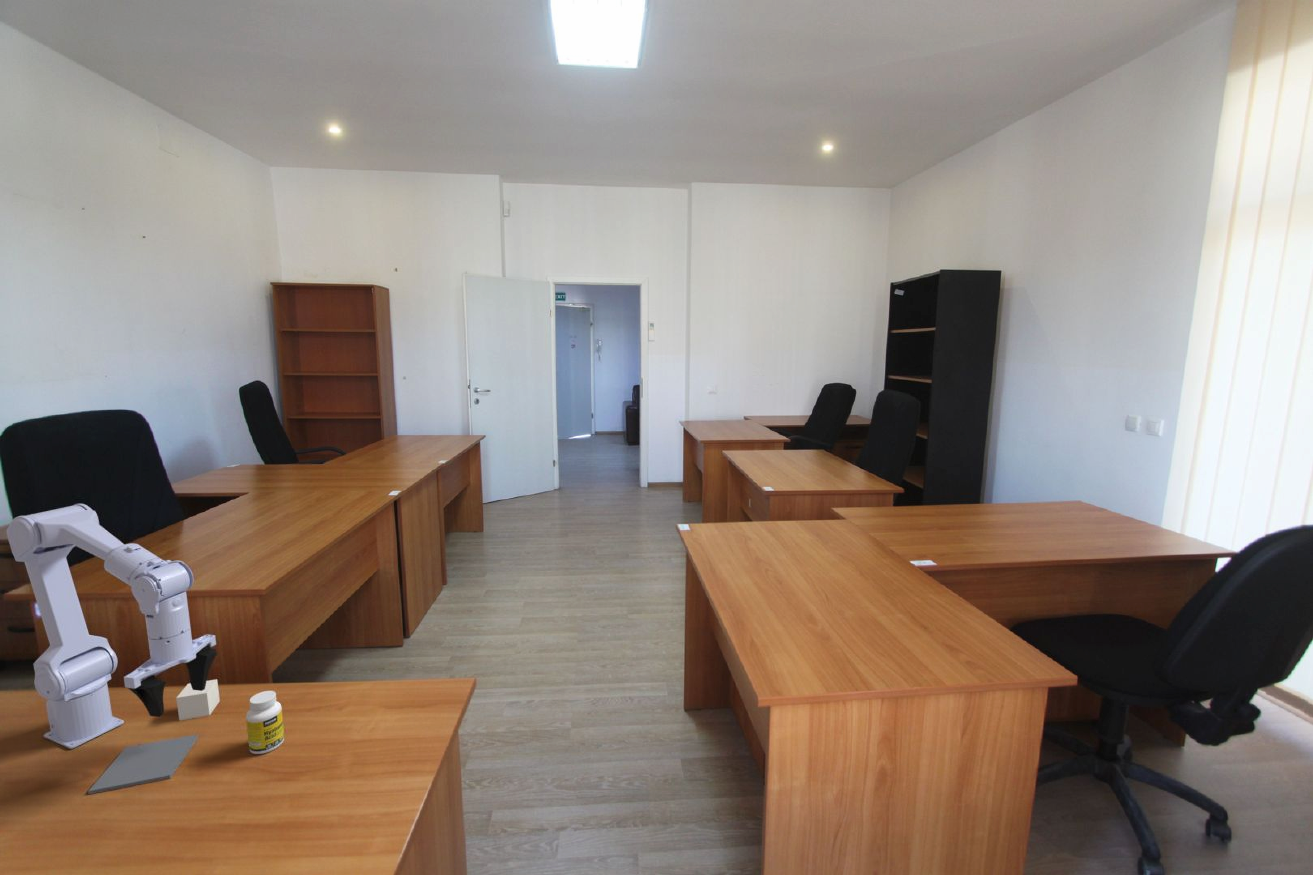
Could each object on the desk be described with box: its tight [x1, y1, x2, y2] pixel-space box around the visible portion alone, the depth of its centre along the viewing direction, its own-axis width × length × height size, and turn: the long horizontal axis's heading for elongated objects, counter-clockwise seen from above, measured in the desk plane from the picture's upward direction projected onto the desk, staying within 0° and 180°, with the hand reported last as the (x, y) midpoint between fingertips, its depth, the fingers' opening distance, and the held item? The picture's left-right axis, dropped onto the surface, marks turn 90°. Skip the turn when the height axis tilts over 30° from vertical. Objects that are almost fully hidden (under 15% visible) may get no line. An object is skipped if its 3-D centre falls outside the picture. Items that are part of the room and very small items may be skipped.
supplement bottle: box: [245, 690, 285, 755], centre depth 103 cm, size 5×5×10 cm
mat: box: [87, 734, 200, 795], centre depth 99 cm, size 11×11×1 cm
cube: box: [175, 678, 221, 721], centre depth 113 cm, size 5×5×5 cm
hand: (178, 701), depth 101 cm, fingers open, 7 cm apart
